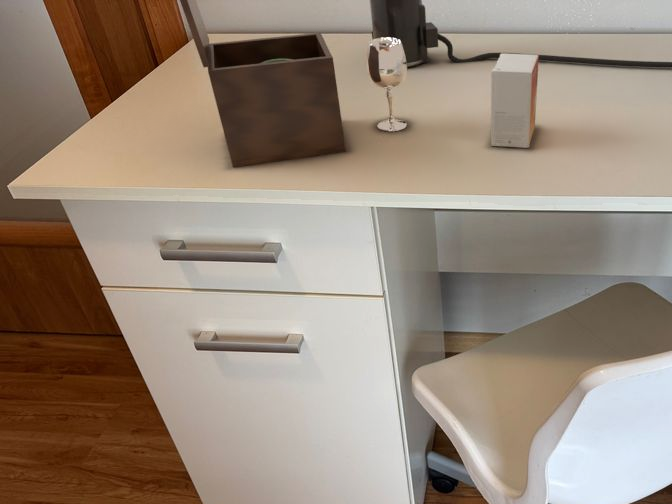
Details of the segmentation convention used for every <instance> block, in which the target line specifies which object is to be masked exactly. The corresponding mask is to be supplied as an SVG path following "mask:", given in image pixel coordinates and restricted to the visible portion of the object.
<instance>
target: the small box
mask: <svg viewBox="0 0 672 504" xmlns="http://www.w3.org/2000/svg"><path fill="white" fill-rule="evenodd" d="M500 53H501V54H500V57H499V58H497V61H496V62H495V65H494V67H493V68H492V70H491V71H490V80H491V81H490V145H491V147H505V148H506V147H507V148H525V149H528V148H530V145H531V142H532V141H531V140H532V138H533V135H534V132H535V129H536V115H537V114H536V112H537V97H538V96H537V95H538V77H539V61H540V60H539V56H538V55H539V54H535V55H527V54H528V53H519V54H505V53H506V52H500Z"/></svg>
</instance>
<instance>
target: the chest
mask: <svg viewBox="0 0 672 504" xmlns="http://www.w3.org/2000/svg"><path fill="white" fill-rule="evenodd" d="M209 51H210V67H207V73H208V78H209V81H210V84H211V85H210V86H211V89H212V92H213V97H214V100H215V104H216V107H217V108H216V109H217V111H218V115H219V119H220V123H221V127H222V130H223V134H224V138H225V139H224V140H225V143H226V147H227V150H228V155H229V158H230V161H231V167H232V168H236V167H244V166H251V165H259V164H265V163H266V164H267V163H273V162H279V161H280V162H281V161H287V160H293V159H294V160H295V159H302V158H308V157H309V158H310V157H315V156H323V155H324V156H325V155H331V154H339V153H345V152H347V149H346V142H345V135H344V129H343V127H344V126H343V121H342V114H341V113H342V112H341V105H340V99H339V91H338V85H337V78H336V77H337V76H336V71H335V63H334V57H333V55H332V53H331V52H330V49H329V47H328V46H327V43H326V41H325V39H324V37H323V34H322V33H321V32H313V33H312V32H310V33H302V34H292V35H283V36H282V35H280V36H271V37H261V38H251V39H242V40H241V39H240V40H231V41H223V42H212V43H209ZM271 59H293V60H288V61H279V62H269V63H262V62H264V61H267V60H271ZM259 63H260V64H259Z"/></svg>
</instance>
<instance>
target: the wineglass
mask: <svg viewBox="0 0 672 504" xmlns="http://www.w3.org/2000/svg"><path fill="white" fill-rule="evenodd" d="M365 65H366V72H367V76H368V78H369V80H370V82H371V83H372V84H373V85H374V86H376V87H378V88H380V89H384V90H386V92H385V97H386V100H387V104H388V112H389V116H388V117H389V118H388V119H384V120H382V121H380V122H379V123H378V124H377V129H378V130H380V131H382V132H398V131H402V130H404V129H405V128H407V126H408V124H407V122H406V121H404V120H402V119H396V118H395V117H394V112H393V98H394V93H393V91H392V90H393V89H395V88H398V87H399V86H401V85H402V84H403V83H404V82H405V81H406V79H407V74H408V67H407V62H406V57H405V52H404V49H403V46H402V43H401V40H399V39H397V38H390V37H384V38H376V39H373V40H372V39H371V40H369V41H368V43H367V49H366V64H365Z"/></svg>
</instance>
